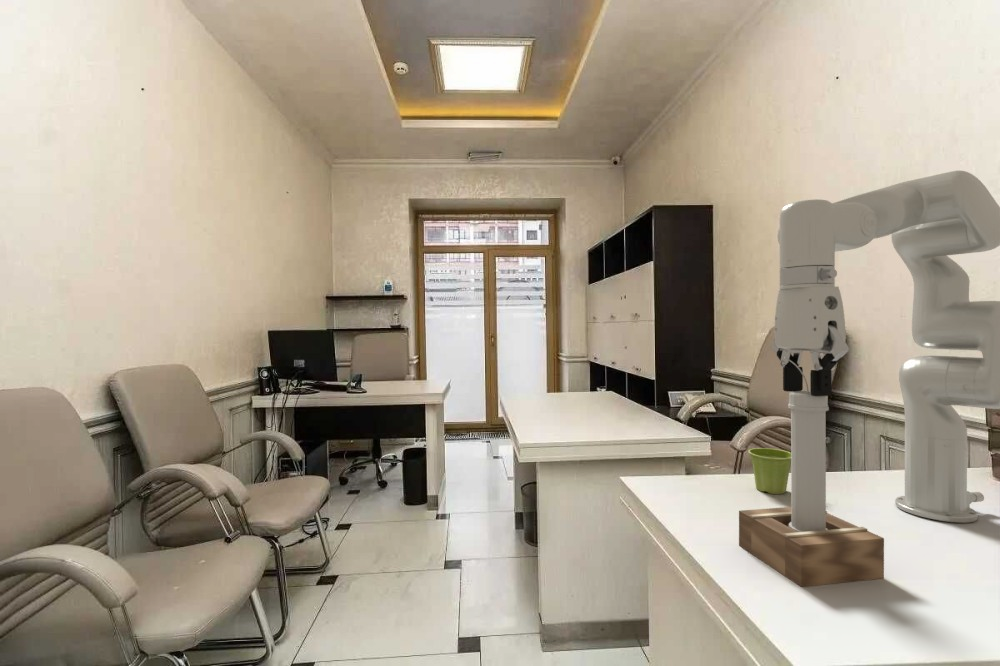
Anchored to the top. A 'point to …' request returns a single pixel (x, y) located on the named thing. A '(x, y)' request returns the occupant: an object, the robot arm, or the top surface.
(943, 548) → the top surface
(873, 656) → the top surface
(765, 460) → the plant pot
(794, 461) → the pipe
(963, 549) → the top surface
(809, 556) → the socket block
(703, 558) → the top surface
